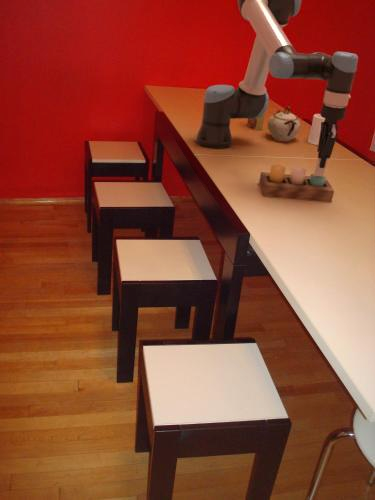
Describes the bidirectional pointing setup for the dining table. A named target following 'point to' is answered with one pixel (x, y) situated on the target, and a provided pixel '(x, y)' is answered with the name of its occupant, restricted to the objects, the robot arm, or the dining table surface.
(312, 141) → the mug
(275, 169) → the orange rounded ball
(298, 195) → the wooden compartment tray
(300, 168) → the pink round piece
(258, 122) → the candy box
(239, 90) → the robot arm
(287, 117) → the sugar bowl
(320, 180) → the teal egg
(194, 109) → the dining table surface
